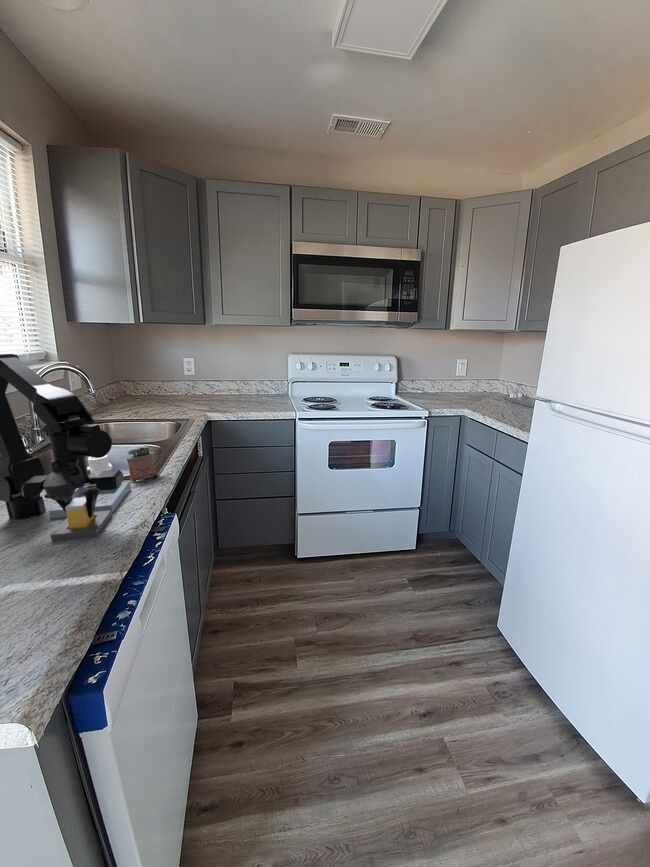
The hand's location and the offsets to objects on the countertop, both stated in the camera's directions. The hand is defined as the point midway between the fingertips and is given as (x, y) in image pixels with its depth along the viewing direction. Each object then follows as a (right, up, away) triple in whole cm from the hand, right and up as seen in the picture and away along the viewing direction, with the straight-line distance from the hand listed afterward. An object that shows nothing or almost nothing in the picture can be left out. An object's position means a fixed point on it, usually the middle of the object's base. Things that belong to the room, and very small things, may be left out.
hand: (81, 517), depth 90 cm
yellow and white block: (0, -2, +1) cm, 2 cm away
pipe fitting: (-13, +4, +31) cm, 34 cm away
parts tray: (-6, 0, +15) cm, 16 cm away
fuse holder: (0, -3, +1) cm, 4 cm away
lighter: (-1, +5, +33) cm, 34 cm away
